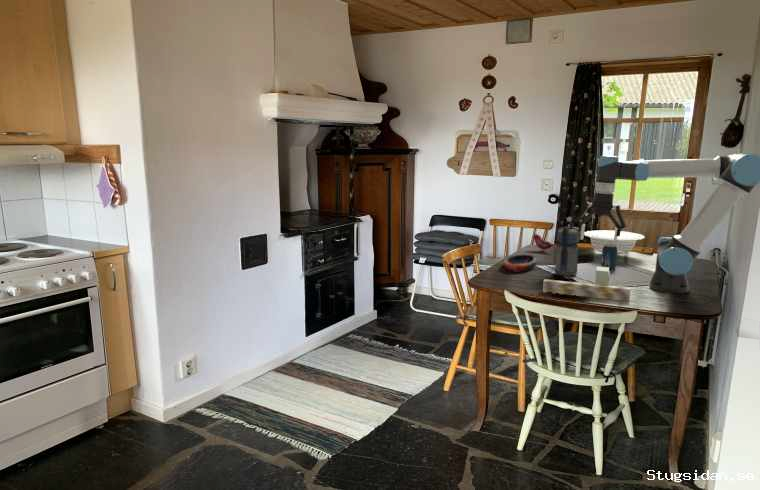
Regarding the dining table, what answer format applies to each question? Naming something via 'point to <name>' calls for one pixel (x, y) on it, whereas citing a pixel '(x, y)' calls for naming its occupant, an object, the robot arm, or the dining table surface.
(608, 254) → the soda can
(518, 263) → the dish
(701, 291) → the dining table surface
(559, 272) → the beverage bottle
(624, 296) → the price rail shelf lip
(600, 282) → the sage carton
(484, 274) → the dining table surface
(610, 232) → the colander
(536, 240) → the decorative bird figurine
